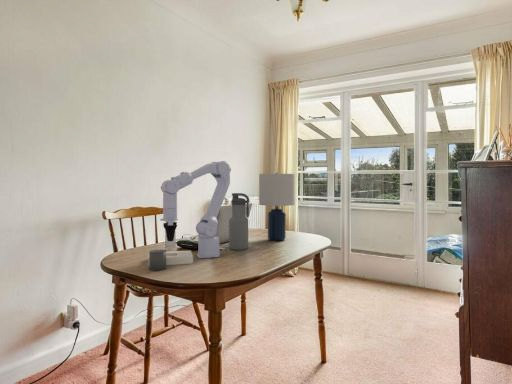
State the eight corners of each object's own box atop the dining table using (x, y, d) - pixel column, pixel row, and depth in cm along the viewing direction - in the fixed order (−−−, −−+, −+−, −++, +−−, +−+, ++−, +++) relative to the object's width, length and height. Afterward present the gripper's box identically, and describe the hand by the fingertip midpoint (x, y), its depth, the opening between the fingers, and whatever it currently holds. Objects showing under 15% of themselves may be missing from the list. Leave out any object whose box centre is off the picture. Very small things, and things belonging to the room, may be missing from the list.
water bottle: (248, 246, 178) (248, 192, 177) (250, 250, 168) (250, 193, 167) (228, 246, 177) (228, 192, 175) (229, 250, 167) (229, 193, 166)
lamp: (272, 244, 182) (273, 172, 181) (252, 239, 199) (252, 172, 198) (301, 240, 194) (302, 172, 192) (279, 235, 210) (280, 172, 209)
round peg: (166, 266, 137) (166, 249, 137) (166, 270, 131) (166, 252, 131) (149, 267, 136) (149, 250, 135) (148, 271, 129) (148, 253, 129)
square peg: (175, 245, 148) (175, 229, 147) (175, 247, 143) (175, 231, 143) (165, 246, 146) (165, 230, 146) (165, 248, 142) (165, 231, 142)
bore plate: (190, 257, 153) (190, 250, 153) (193, 263, 142) (192, 256, 142) (149, 259, 149) (149, 252, 149) (147, 266, 137) (147, 258, 137)
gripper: (160, 207, 150) (160, 237, 151) (160, 210, 136) (160, 243, 137) (176, 206, 152) (177, 236, 153) (178, 209, 138) (178, 242, 139)
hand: (170, 240), depth 145 cm, fingers closed on square peg, 4 cm apart
